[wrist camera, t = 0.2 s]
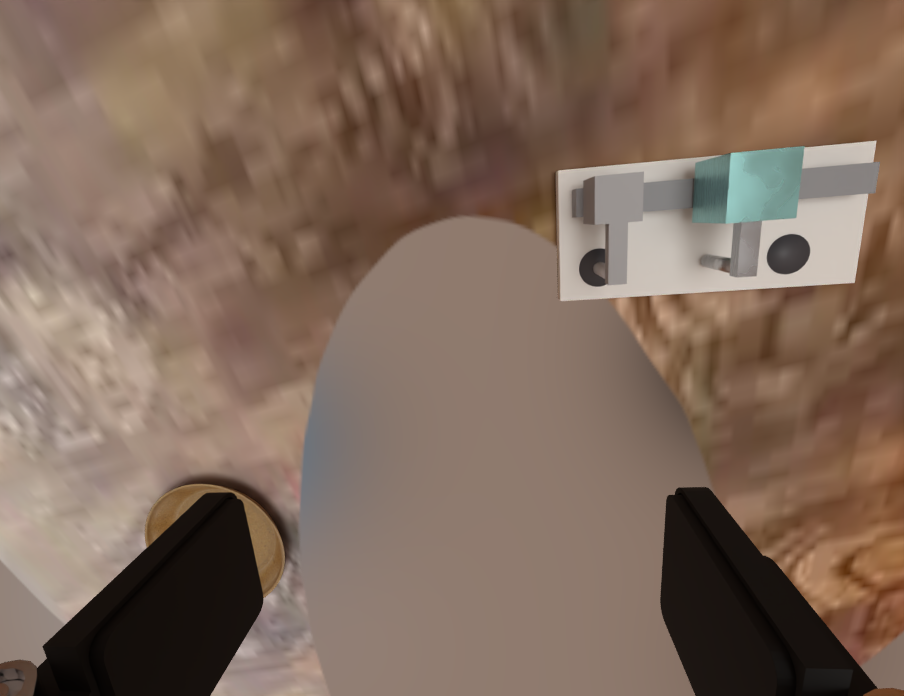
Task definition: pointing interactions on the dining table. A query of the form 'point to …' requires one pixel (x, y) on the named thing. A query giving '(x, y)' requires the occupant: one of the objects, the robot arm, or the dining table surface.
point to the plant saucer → (259, 521)
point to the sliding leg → (746, 200)
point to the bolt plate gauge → (704, 228)
